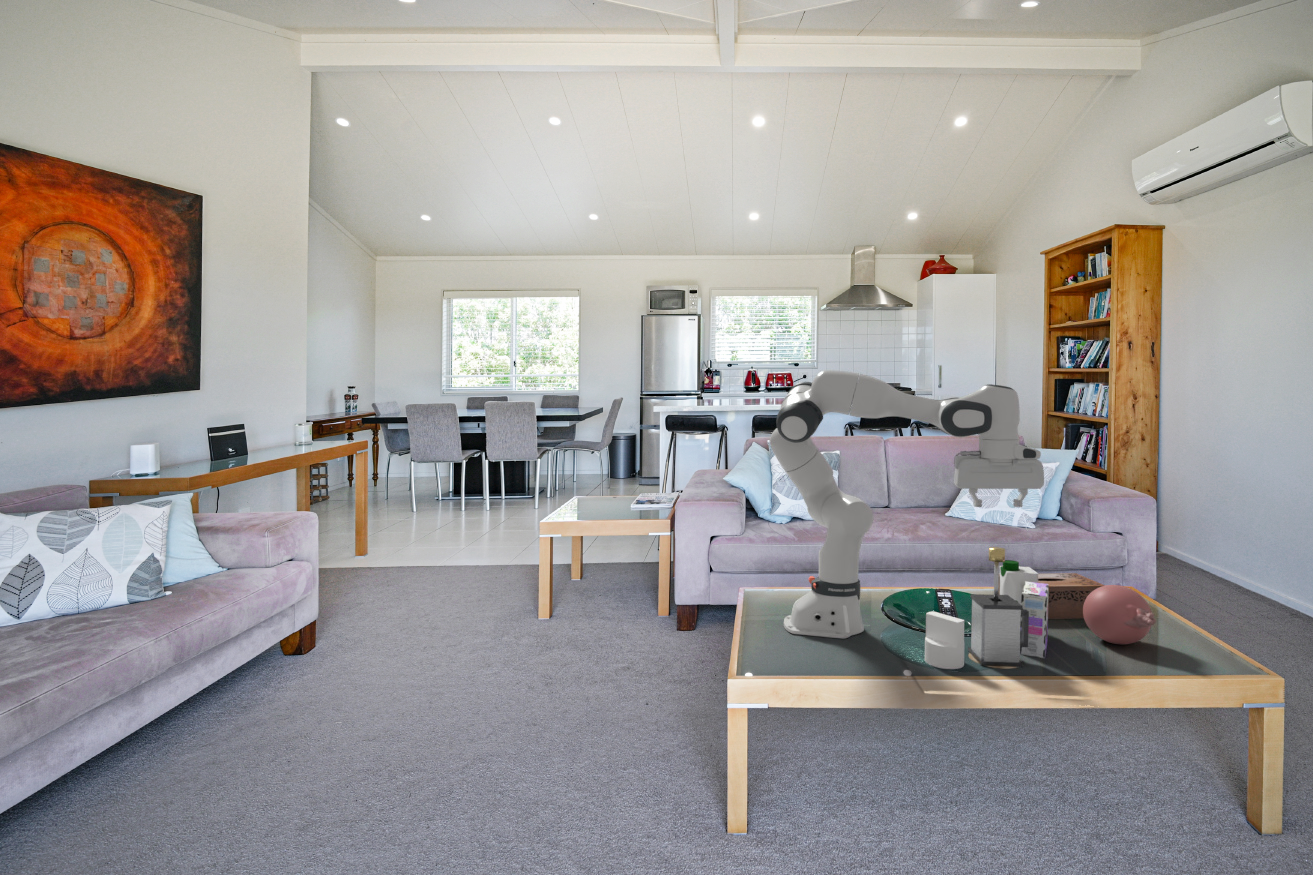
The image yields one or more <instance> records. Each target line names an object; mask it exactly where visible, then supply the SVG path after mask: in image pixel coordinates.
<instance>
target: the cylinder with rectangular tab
mask: <svg viewBox="0 0 1313 875" xmlns="http://www.w3.org/2000/svg"><path fill="white" fill-rule="evenodd" d="M924 661H925V663H926V664H928V665H930V666H932V667H935V668H939V669H944V670H956V669H957V670H959V669H961V668H963V667H964V666H965V619H962V618H959V617H954V616H951V615H948V614H944V613H941V612H937V611H934V610H933V611H928V612H926V614H925V637H924Z"/></svg>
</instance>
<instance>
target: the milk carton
mask: <svg viewBox="0 0 1313 875" xmlns="http://www.w3.org/2000/svg"><path fill="white" fill-rule="evenodd" d="M999 574H1000V595H1008V596H1010V597H1011V598H1013V599H1014V600H1015V601H1017V602H1018V603H1019V604H1021V595H1022V591H1023V588H1024V585H1025V581H1027V582H1036V583H1038V574H1039V573H1038V572H1037V571H1035V570H1034V569H1033V568H1031V567H1030V566H1020V562H1019V561H1016V560H1011V559H1010V560H1009V559H1005V562H1002V565H999ZM1020 628H1021V620H1020Z"/></svg>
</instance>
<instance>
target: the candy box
mask: <svg viewBox="0 0 1313 875" xmlns="http://www.w3.org/2000/svg"><path fill="white" fill-rule="evenodd" d="M1048 588H1049V584H1044V583H1036V582H1027V581H1025V585H1024V588H1023V591H1022V595H1021V605H1022V606H1023V609H1025V610H1027V611H1029V629H1028V647H1020V655H1022V656H1023V655H1024V656H1028V657H1029V656H1030V657H1035V658H1041V659H1046V654H1047V646H1048V629H1049V628H1048V627H1049V619H1048V596H1049V594H1048ZM1021 628H1022V615H1021ZM1021 628H1020V641H1021Z"/></svg>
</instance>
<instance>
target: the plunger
mask: <svg viewBox="0 0 1313 875" xmlns="http://www.w3.org/2000/svg"><path fill="white" fill-rule="evenodd" d="M1005 560H1006V548H1005V547H1000V546H991V547H988V561H990V562H991V563H992V562H993V563H994V565H993V566H994V567H993V569H994V570H993V571H994V572H993V574H994V576H993V595H994V601H998V585H999V574H1000V563H1003V562H1005Z"/></svg>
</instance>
